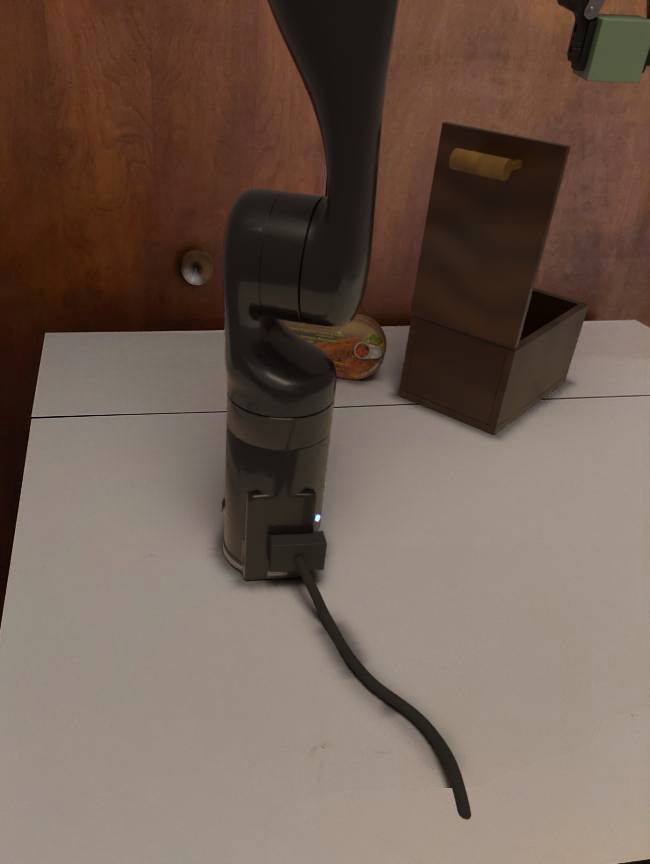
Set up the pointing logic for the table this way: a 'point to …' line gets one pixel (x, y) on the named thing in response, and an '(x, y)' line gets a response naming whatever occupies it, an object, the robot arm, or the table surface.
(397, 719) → the table surface
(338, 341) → the tin
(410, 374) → the chest
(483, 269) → the lid
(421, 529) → the table surface
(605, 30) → the block
